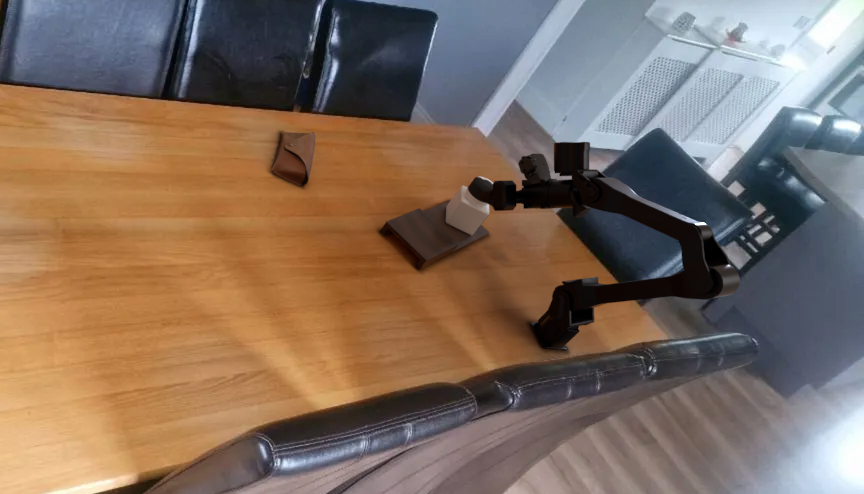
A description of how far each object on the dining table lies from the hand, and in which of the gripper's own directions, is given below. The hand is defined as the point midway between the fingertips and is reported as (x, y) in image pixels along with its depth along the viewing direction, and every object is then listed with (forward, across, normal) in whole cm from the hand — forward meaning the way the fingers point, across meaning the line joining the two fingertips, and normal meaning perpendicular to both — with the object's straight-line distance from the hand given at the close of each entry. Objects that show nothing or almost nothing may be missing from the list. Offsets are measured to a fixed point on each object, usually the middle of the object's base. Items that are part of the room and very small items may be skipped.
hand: (493, 196), depth 156 cm
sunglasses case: (+27, +36, -10) cm, 46 cm away
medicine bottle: (+10, 0, +6) cm, 12 cm away
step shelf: (+9, +9, +8) cm, 15 cm away
